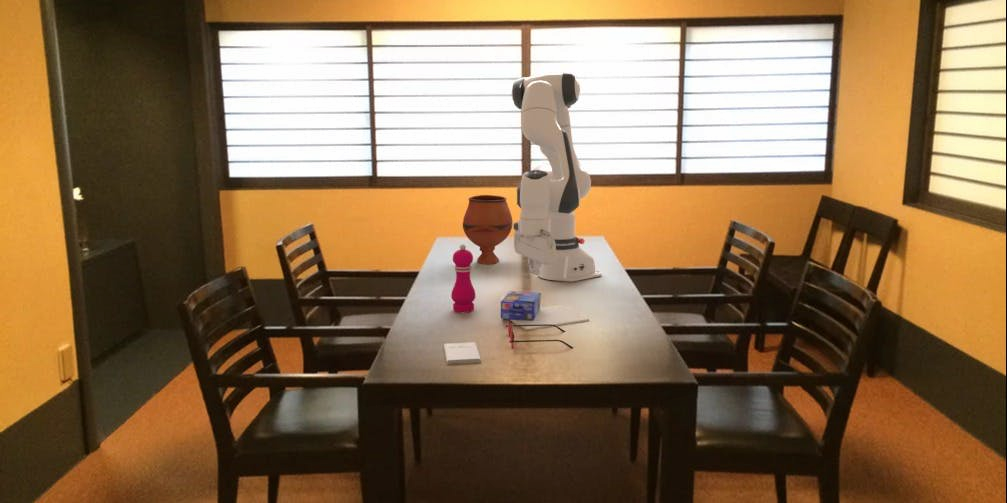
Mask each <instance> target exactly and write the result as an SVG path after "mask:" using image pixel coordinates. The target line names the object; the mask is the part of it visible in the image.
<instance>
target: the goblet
mask: <svg viewBox="0 0 1007 503" xmlns="http://www.w3.org/2000/svg"><path fill="white" fill-rule="evenodd" d="M464 213H465V214H464V216H463V219H462V229H463V232H464V234H465V236H466V237H467V238H468V240H469V241H470V242H471V243H473V244H474V245H475V246H477V247H479V251H480V252H481V254H480V255H479V256H478V258H477V259H476V262H477V263H478V264H481V265H494V264H493V263H495V264H497V262H498V263H499V262H500V259H499V257H498V256H497V255H496V254H495V253H494V251H495V250H496V247H497V246H499V245H500V244H502V243H503V242H504V241H505V240H506V239H507V238H508V236H509V235H510V234H511V231H512V229H513V223H514V222H513V216H512V213H511V209H510V207H509V205H508V202H507V197H505V196H502V195H491V194H481V195H474V196H470V197H469V198H468V205H467V207H466V211H465V212H464Z"/></svg>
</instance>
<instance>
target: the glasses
mask: <svg viewBox="0 0 1007 503" xmlns="http://www.w3.org/2000/svg"><path fill="white" fill-rule="evenodd" d="M521 326H551V327H554V328H556V329H558V330H560V332H562V333H566V331H565V330H564V329H563V328H561V327H559V325H558V326H556V325H552V324H544V325H517V324H512V321H511V320H509V319H508V322H507V324H505V326H504V327H505V328H507V333H508V338H510V340H508V344H509V343H510V344H511V349H513V348H514V343H535V342H536V343H537V342H539V343H542V342H560V343H562V344H563V345H564V346H567V347H568V348H570V349H574V346H572V345H570V344H569V343H567V342H565V341H564V340H561V339H534V340H531V339H530V340H515V334H514V333H515V332H514V329H513V328H514V327H517V328H518V327H521Z"/></svg>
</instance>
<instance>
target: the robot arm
mask: <svg viewBox="0 0 1007 503" xmlns="http://www.w3.org/2000/svg"><path fill="white" fill-rule="evenodd" d="M580 93H581V86H580V82H579V80H578V78H577V76H576V75H575V74H574V73H572V72H566V71H565V72H563V73H561V72H557V73H556V72H554V73H552V72H550V73H543V74H537V75H533V76H528V77H526V76H524V77H520V78H517V79H516V80H515V81H514V82H513V84H512V90H511V97H512V98H511V99H512V101H513V104H514V106H515V107H516V108H517V109H518V110H520V126H521V127H520V128H521V132H522V134H523V136H524V138H526V139H527V140H528V141H529V142H530V143H532V144H534V145H536V146H538V147H539V149H540V152H541V153H542V154H543V155H544V156H545V157H546V158H547V160H548V163H549V164H548V163H547V164H542V165H538V166H536V167H534V168H533V169H532V170H528V171H525V172H523V173H522V176H521V179H520V180H521V181H520V184H519V185H518V186H517V187H516V205H517V206H518V207H519V208H520V209H521V210H520V214H519V220H517V221H514V222H513V223H512V229H513V231H514V233H513V247H514V251H515V253H516V254H519V255H521V256H523V257H525V258H527V263H528V266H529V273H530V274H532V275H535V276H538V277H539V278H541V279H545V280H549V281H559V282H561V281H563V282H567V283H569V282H570V283H571V282H577V281H578V282H579V281H582V280H587V279H592V278H597V277H601V276H602V272H601V271H600V270H599V269H596V265H595V259H594V258H593V255H592V256H591V255H590V254H589V253H588V252H587V251H585V250H584V249H583V248H582V247H581V246H580V244H581V245H584V243H586V242H585V238H582V237H577V236H576V215H575V213H574V212H575V211H576V209H578V208H579V206H580V203H581V199H583V198H585V197H586V196H587V195H588V194H589V193H590V190H591V188H592V186H591V185H592V179H591V175H590V174H589V173H588V172H587V171H586V170H585V169H584V168H583V167H582V165H581V164H580V161H579V159H578V157H577V156H578V155H577V154H576V151H575V149H574V143H573V137H572V126H571V119H570V112H569V109H570V108H571V106H573V105H575V104H576V103H577V102H578V100H579V97H580Z"/></svg>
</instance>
